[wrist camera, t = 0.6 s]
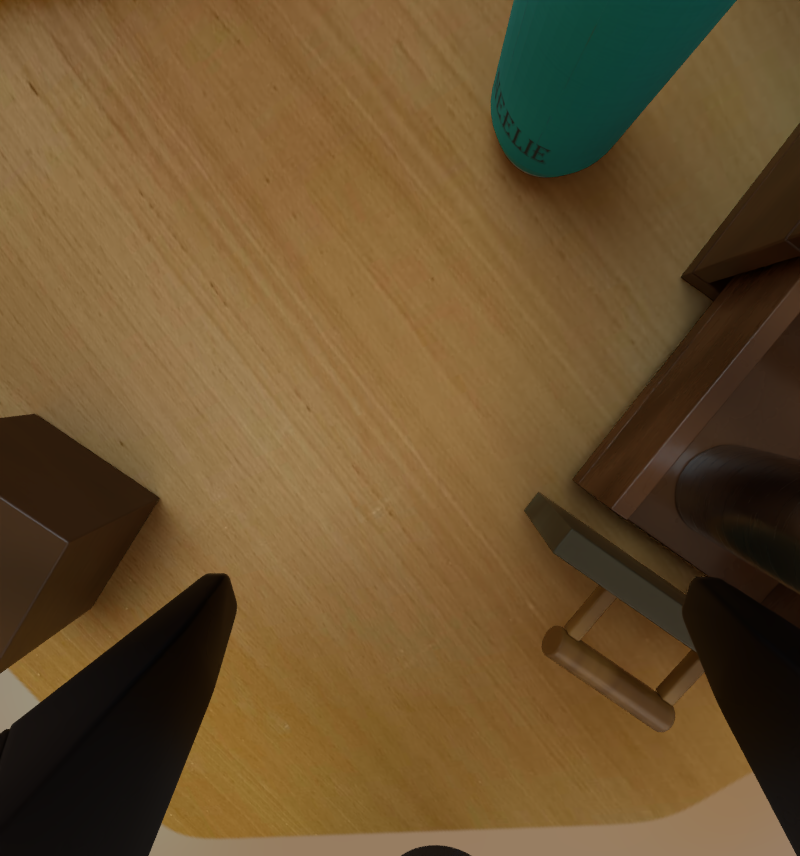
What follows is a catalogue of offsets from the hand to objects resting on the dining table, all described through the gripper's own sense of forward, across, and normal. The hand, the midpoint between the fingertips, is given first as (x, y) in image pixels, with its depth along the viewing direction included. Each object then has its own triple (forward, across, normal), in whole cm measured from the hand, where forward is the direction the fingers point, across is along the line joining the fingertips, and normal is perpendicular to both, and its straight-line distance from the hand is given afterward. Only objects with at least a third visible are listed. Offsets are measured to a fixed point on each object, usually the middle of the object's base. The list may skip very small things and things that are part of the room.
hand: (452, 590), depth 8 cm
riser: (+12, +20, +7) cm, 25 cm away
